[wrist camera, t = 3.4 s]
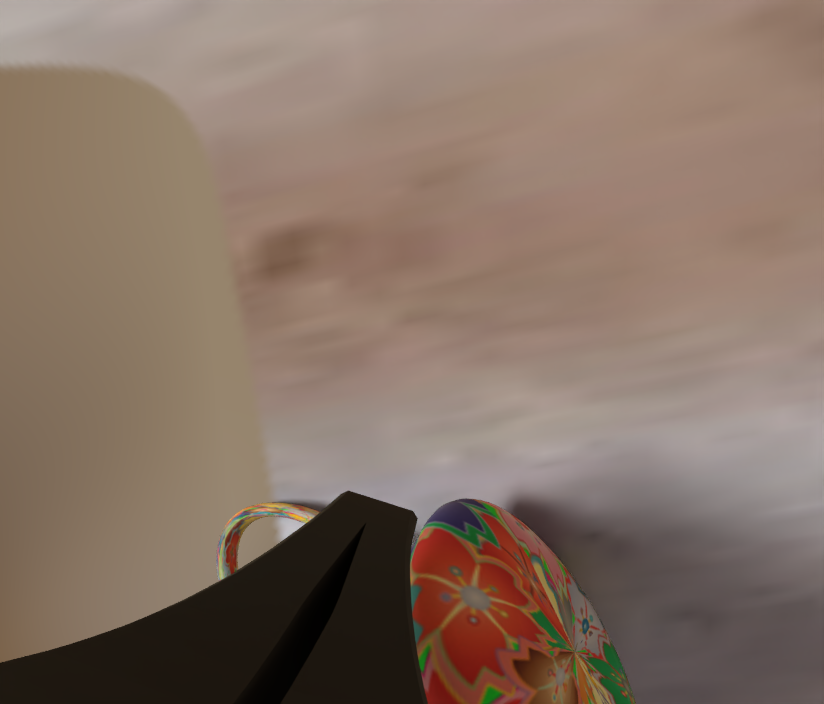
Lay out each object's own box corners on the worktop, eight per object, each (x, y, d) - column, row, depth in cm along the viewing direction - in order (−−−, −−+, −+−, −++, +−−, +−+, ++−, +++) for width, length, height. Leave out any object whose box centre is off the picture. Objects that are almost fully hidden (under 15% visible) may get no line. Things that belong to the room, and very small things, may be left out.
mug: (626, 1039, 10) (153, 1142, 14) (724, 803, 18) (404, 911, 22) (335, 344, 15) (46, 562, 19) (511, 397, 23) (282, 543, 27)
